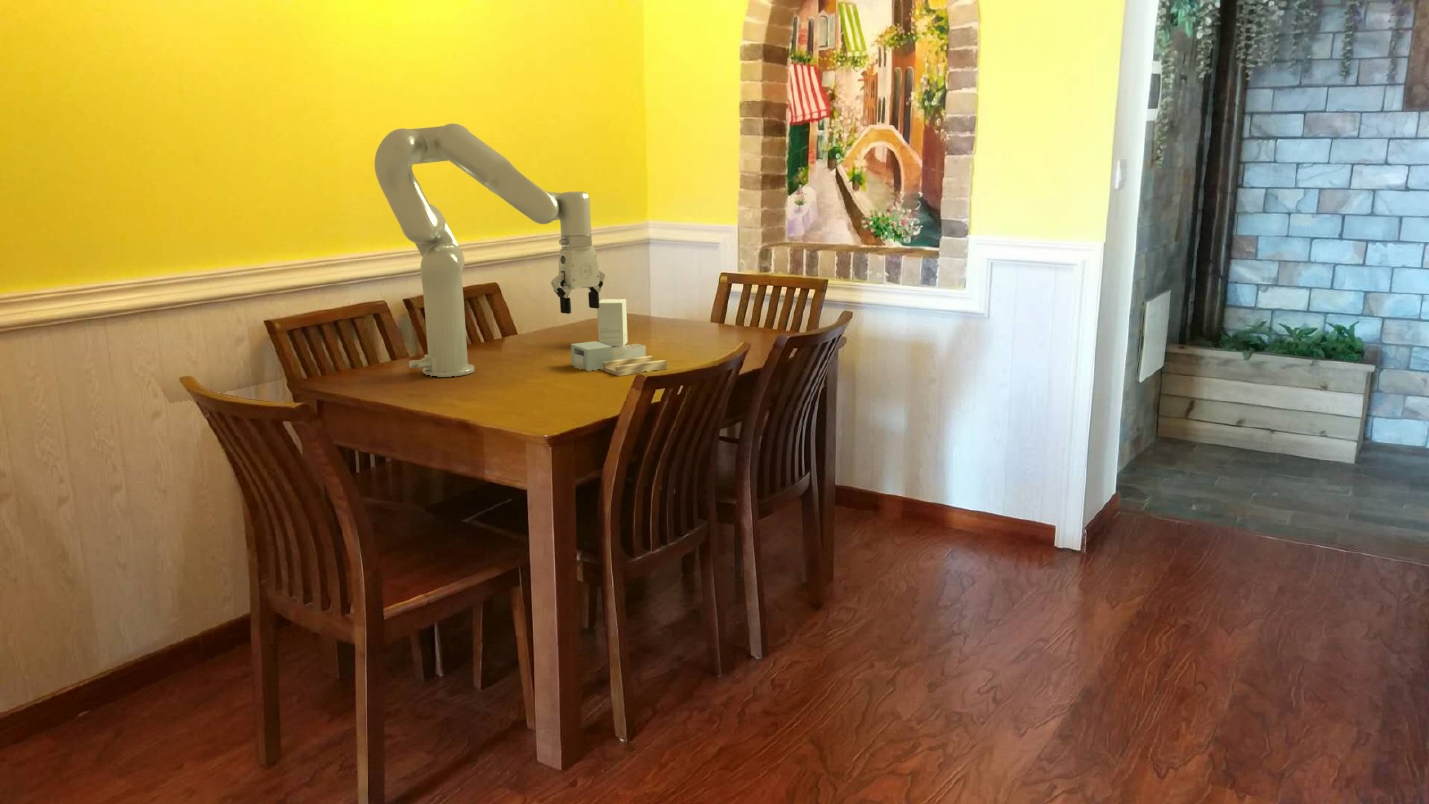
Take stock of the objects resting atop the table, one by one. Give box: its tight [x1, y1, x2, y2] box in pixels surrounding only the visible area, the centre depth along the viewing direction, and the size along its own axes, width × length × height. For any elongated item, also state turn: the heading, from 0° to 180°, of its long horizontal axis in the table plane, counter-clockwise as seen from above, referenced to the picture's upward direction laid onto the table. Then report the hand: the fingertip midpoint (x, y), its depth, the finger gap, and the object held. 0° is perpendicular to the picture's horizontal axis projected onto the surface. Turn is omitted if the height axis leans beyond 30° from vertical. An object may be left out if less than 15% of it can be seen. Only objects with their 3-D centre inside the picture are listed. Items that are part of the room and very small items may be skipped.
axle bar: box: [574, 343, 647, 370], centre depth 271 cm, size 20×4×4 cm, turn 132°
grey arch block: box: [570, 341, 613, 372], centre depth 267 cm, size 7×9×6 cm
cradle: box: [602, 355, 668, 377], centre depth 263 cm, size 14×8×2 cm, turn 124°
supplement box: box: [596, 298, 629, 347], centre depth 295 cm, size 7×7×13 cm
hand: (580, 310), depth 262 cm, fingers open, 9 cm apart
